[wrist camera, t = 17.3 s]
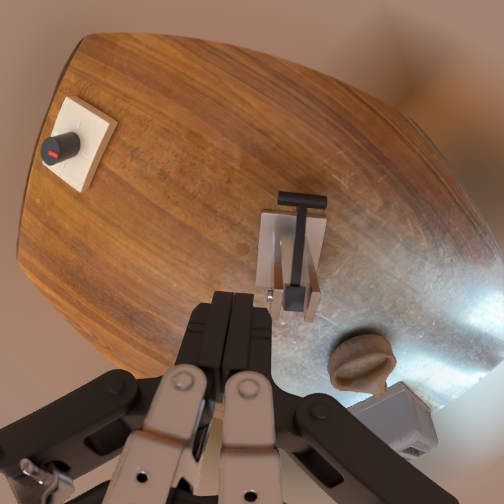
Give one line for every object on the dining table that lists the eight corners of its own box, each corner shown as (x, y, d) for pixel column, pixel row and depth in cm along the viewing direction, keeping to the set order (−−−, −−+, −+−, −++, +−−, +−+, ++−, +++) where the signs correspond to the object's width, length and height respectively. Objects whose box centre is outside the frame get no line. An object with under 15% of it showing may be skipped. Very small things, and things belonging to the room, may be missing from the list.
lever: (278, 192, 32) (279, 189, 29) (323, 197, 31) (328, 194, 29) (268, 304, 32) (268, 309, 30) (313, 307, 32) (317, 312, 29)
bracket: (261, 209, 37) (257, 255, 26) (325, 215, 37) (347, 263, 26) (255, 280, 43) (250, 340, 32) (311, 285, 43) (321, 345, 32)
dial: (60, 153, 32) (37, 161, 27) (65, 128, 30) (42, 134, 25) (77, 160, 32) (55, 170, 28) (83, 135, 30) (60, 142, 26)
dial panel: (75, 95, 29) (65, 96, 27) (118, 122, 32) (109, 123, 30) (51, 159, 34) (41, 163, 32) (89, 188, 37) (79, 193, 35)
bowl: (415, 346, 48) (418, 389, 41) (365, 367, 57) (363, 405, 50) (371, 313, 43) (372, 365, 36) (315, 340, 53) (309, 385, 45)
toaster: (361, 442, 79) (367, 481, 63) (310, 423, 68) (312, 475, 52) (432, 409, 67) (444, 449, 52) (401, 379, 56) (419, 437, 41)
